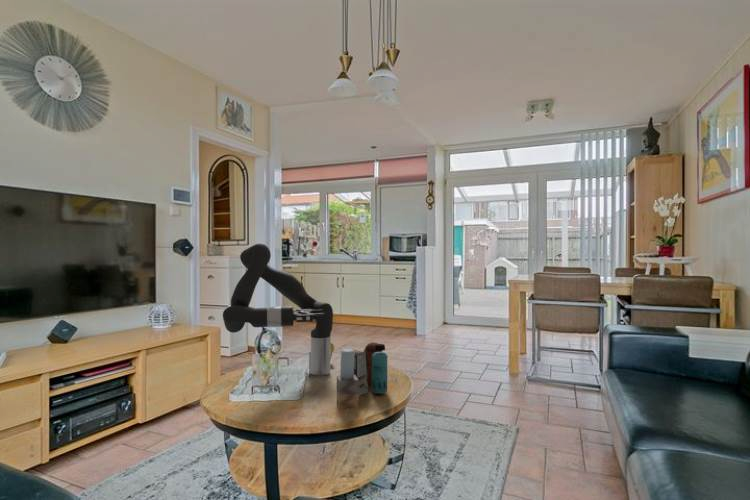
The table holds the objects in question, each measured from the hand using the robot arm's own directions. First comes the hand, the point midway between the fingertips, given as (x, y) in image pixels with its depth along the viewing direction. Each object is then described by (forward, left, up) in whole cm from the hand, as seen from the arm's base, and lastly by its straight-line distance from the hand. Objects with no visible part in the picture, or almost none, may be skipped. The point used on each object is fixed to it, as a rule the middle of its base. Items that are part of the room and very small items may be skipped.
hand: (323, 314), depth 157 cm
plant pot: (-36, +42, -33) cm, 64 cm away
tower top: (+9, +3, -28) cm, 30 cm away
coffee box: (+3, +16, -33) cm, 37 cm away
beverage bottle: (+13, +19, -33) cm, 40 cm away
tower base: (+9, +3, -33) cm, 35 cm away
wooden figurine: (+4, +28, -33) cm, 44 cm away
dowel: (+9, +3, -23) cm, 25 cm away
